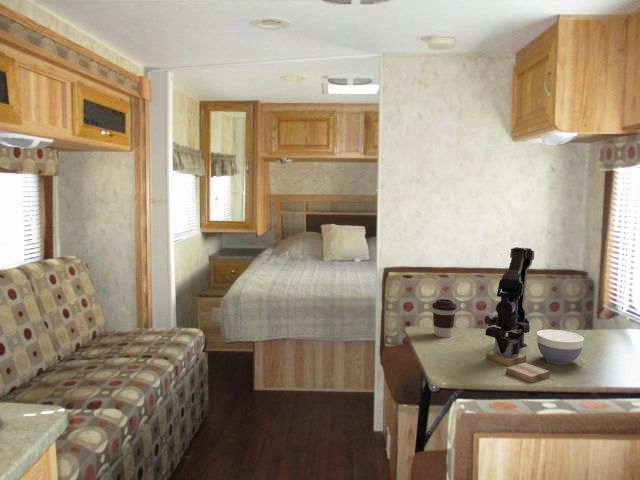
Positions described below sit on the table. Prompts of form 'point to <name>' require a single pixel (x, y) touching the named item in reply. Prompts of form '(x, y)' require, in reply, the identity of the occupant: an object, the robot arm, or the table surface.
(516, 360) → the stand
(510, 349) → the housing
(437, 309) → the coffee cup
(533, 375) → the stand
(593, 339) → the table surface
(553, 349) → the bowl
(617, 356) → the table surface
